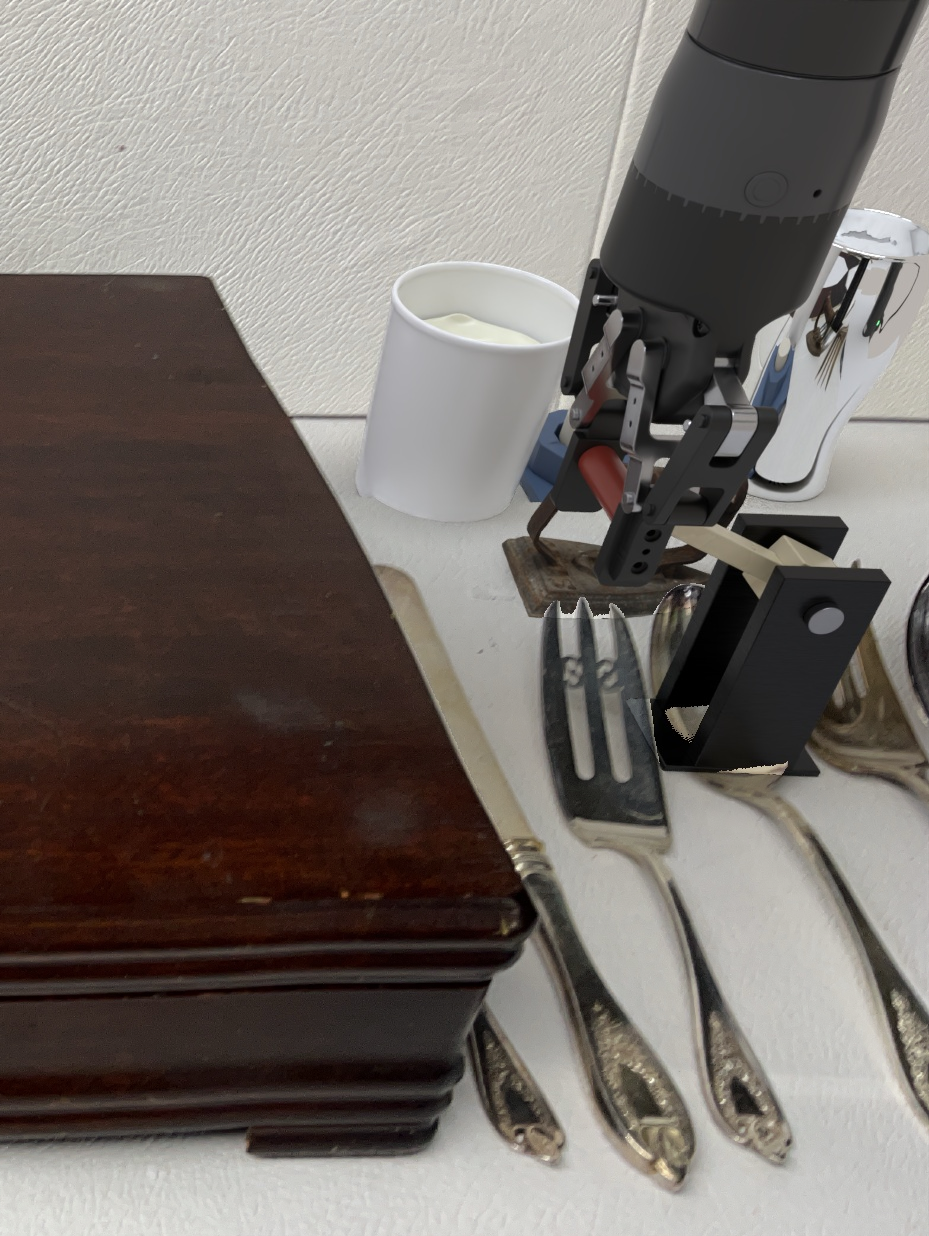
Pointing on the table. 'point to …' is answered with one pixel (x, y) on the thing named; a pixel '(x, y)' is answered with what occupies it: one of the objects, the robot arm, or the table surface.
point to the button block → (546, 459)
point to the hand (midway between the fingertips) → (596, 541)
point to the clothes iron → (569, 566)
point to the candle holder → (462, 388)
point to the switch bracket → (766, 653)
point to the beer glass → (835, 347)
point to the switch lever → (716, 541)
